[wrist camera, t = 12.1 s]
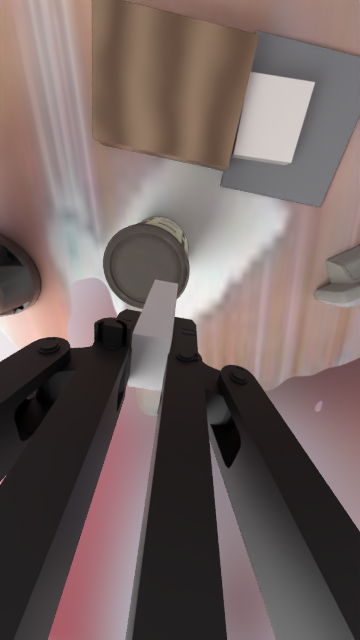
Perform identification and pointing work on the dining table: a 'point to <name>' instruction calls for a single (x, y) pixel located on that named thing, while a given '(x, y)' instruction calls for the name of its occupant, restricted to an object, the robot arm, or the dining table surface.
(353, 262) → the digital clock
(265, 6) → the dining table surface
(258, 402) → the robot arm
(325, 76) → the mat
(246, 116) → the coaster
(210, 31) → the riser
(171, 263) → the coffee can
